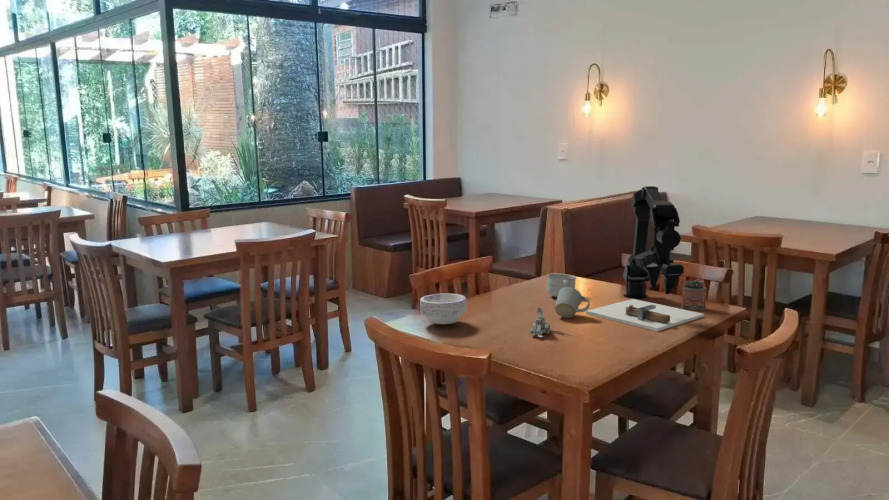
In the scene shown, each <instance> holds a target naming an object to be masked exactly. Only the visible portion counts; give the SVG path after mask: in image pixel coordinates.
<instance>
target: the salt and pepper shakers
mask: <svg viewBox="0 0 889 500" xmlns="http://www.w3.org/2000/svg"><path fill="white" fill-rule="evenodd" d="M540 416H541V417H543V418H544V419H545V416H543V415H540ZM533 427H534V425H533V426H531V425H528V424H523V429H522V436H523V439H527V438H532V436H533V435H532V434H533ZM534 434H535V437H537V438H539V437H541V438H542V437H544V436H545V431H543V430H541V429H538V428H536V427H535V433H534Z"/></svg>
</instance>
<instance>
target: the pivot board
mask: <svg viewBox="0 0 889 500" xmlns="http://www.w3.org/2000/svg"><path fill="white" fill-rule="evenodd" d="M629 305H633V307H635V308H642V307H645V306H649V305H656V308H655V309H652V310H648V311H652V312H657V313H661V314H665V315H670V322H667V323H663V322H659V321H655V320H650V319H646V318H645V320H643V321H641V320H638V316H634V315H628V314H626V307H629ZM585 315H589V316H593V317H598V318H603V319H604V320H605V319H606V320H610V321H614V322H617V323H622V324H626V325H630V326H634V327H639V328H642V329H645V330H649V331H655V332H659V331H663V330H667V329H669V328H673V327H676V326H679V325H683V324H685V323H688V322H692V321H694V320H697V319H701V318H705V317H704V316H705V313H701V312H697V311H694V310H684V309H682V308H677V307H672V306H669V305H664V304H660V303H659V304H658V303H654V302H649V301H645V300H640V299H636V298H630V299H627V300H624V301H619V302H615V303H612V304H608V305H604V306H599V307H596V308H591V309H587V310H586V311H585Z"/></svg>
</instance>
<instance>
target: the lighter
mask: <svg viewBox="0 0 889 500" xmlns="http://www.w3.org/2000/svg"><path fill="white" fill-rule="evenodd" d="M684 285H686V286H682V299H681V300H682V302H681V309H683V310H688V311H705V310H706V309H707V306H706V304H707V303H706V301H707V290H708V288H707V287H706V286H704V281H702V280H701V281H700V280H699V281H698V280H696V279H695V280H693V281H692V280H685V281H684ZM704 309H705V310H704Z"/></svg>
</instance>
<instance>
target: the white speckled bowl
mask: <svg viewBox="0 0 889 500" xmlns="http://www.w3.org/2000/svg"><path fill="white" fill-rule="evenodd" d="M419 302H420V303H419V304H420V309H419V310H420V314H421V315H423V316H425V317H426V319H427V321H428V322H429V323H431V324H435V325H449V324H454V323H457V322H458V321H460V318H461V316H462V315H465V314H466V313H467V297H466V296H465V295H463V294H458V293H433V294H429V295H424V296H422V297H420V299H419Z"/></svg>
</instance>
